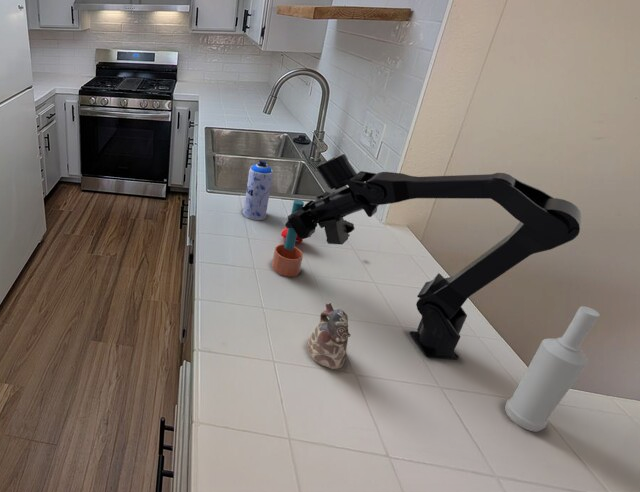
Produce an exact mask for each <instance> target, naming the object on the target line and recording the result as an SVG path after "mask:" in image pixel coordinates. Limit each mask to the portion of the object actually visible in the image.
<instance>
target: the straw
mask: <svg viewBox="0 0 640 492" xmlns="http://www.w3.org/2000/svg"><path fill="white" fill-rule="evenodd" d="M304 206H305V202H304V201H303V200H300V199H294V200H293V204H292V208H291V213H290V214H292V213H293V212H295V211H296V210H298V209H299V208H301V210H303V207H304ZM296 237H297V234H296V232H295V230H294V229H293V228H288V231H287V236H286V241H285V242H284V244H285V246H284V247H285V248H286V249H287V250H293V249H294V246H296V242H297V240H296Z"/></svg>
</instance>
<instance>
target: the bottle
mask: <svg viewBox="0 0 640 492" xmlns="http://www.w3.org/2000/svg"><path fill="white" fill-rule="evenodd" d="M600 315H601V314H600V312H598V311H597V310H595V309H594V308H592V307H588V306H584V305H581V306H580V307H579V308H578V310H577V311H576V313H575V314H574V317H573V319H572V320H571V322H570V323H569V325H568V327H567V328H566V330H565V331H564V333H563V335H562V336H558V337H557V338H552V337H551V338H549V337H548V338H544V339H542V341H541V343H540V344H539V347H538V348H537V350H536V352H535V354H534V356H533V357H532V359H531V361H530V363H529V365H528V367H527V369H526V370H525V372H524V374H523V376H522V378H521V380H520V381H519V383H518V386H517V387H516V389H515V391H514V393H513V394H512V397H510V398H508V399H507V401H506V403H505V407H504V410H505V413H506V415H507V417H508V418H509V419H510V420H511V422H512V421H513V423H514V424H516V425H517V426H519V427H521V428H522V429H524V430H527V431H530V432H535V433H539V432H540V431H542V430H544V429H545V428H546V427H547V425H548V419H549V418H550V417H551V415H552V414H553V412H554V411H555V410H556V408H557V407H558V405H559V404H560V403H561V401H562V400H563V399H564V397H565V396H566V395H567V393H568V392H569V391H570V389H571V388H572V386H573V385H574V384H575V382H576V381H577V379H578V378H579V377H580V375H581V373H583V371H584V370H585V368H586V367H587V366H588V364H589V359H588V358H587V356H586V355H585V353H584V352H583V351H582V347H581V344H582V343H583V341H584V340H585V338H586V337H587V335H588V334H589V332H590V331H591V329H592V327H593V326H594V325H595V323H596V322H597V321H598V319H599V317H600Z"/></svg>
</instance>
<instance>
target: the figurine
mask: <svg viewBox="0 0 640 492" xmlns="http://www.w3.org/2000/svg"><path fill="white" fill-rule="evenodd" d="M325 308H326V310H324V311H321V313H320V317H319V318H320V321H319V323H318V324H317V325H316V327H315V328H314V330H313V331H312V333H311V335H310V337H309V339H308V342H307V352H308V353H309V356H310V357H311V359H312V360H313V361H314V362H315V363H317V364H319V365H321V366H323V367H325V368H326V367H327V368H329V369H331V370H336V369H341V368H343V365H344V364H345V361H346V358H347V355H348V354H347V349H348V341H349V338H350V337H351V335H352V334H351V333H349V315H348V314H347V313H346V312H345V311H344V310H342V309H340V308H337V309H334V307H333V304H332V302H329V301H328V302H326V303H325Z"/></svg>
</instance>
